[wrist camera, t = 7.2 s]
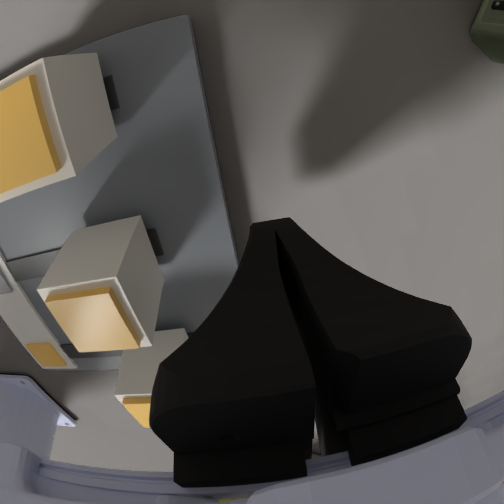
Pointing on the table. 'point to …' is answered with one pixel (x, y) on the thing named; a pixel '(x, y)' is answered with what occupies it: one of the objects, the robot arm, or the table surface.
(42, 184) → the switch near
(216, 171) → the switch unit
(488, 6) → the handheld radio
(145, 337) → the switch mid
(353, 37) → the table surface
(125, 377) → the switch far
